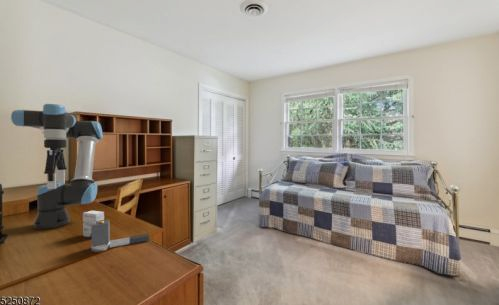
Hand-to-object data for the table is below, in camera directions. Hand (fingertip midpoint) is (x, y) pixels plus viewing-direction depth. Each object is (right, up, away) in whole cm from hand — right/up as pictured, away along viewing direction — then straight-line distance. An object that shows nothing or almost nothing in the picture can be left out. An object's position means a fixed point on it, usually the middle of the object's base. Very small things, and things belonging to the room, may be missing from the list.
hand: (56, 186), depth 100 cm
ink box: (+9, -27, +11) cm, 30 cm away
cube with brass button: (+22, -25, -3) cm, 33 cm away
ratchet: (+29, -27, +1) cm, 40 cm away
